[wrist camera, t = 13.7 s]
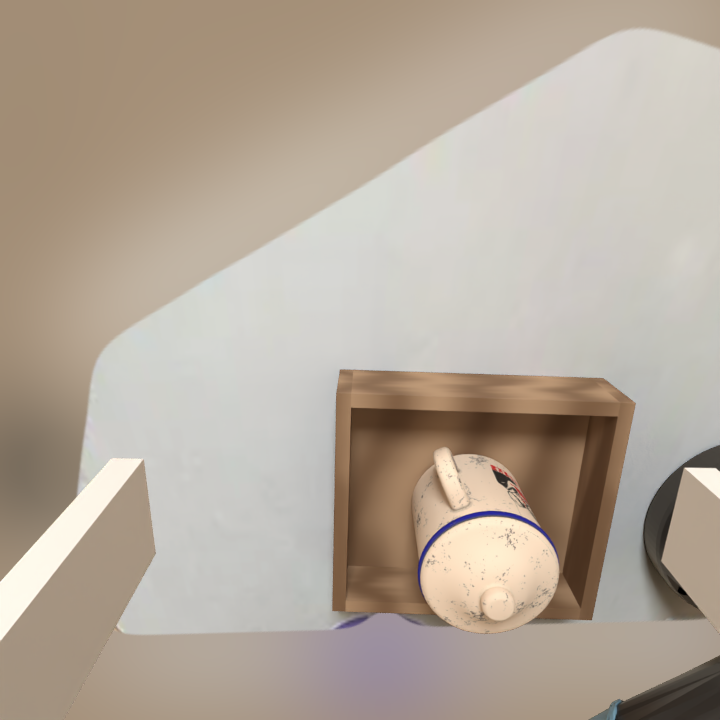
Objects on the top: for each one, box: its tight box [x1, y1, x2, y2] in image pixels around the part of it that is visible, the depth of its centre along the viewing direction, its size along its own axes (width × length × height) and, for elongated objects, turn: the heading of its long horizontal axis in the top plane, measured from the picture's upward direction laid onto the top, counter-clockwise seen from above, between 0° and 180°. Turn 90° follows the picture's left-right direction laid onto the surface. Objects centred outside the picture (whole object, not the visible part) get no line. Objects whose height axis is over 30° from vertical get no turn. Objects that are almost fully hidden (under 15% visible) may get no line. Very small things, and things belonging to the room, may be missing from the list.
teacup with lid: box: [412, 447, 559, 634], centre depth 36 cm, size 12×9×12 cm
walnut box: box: [332, 370, 636, 620], centre depth 40 cm, size 20×18×5 cm
